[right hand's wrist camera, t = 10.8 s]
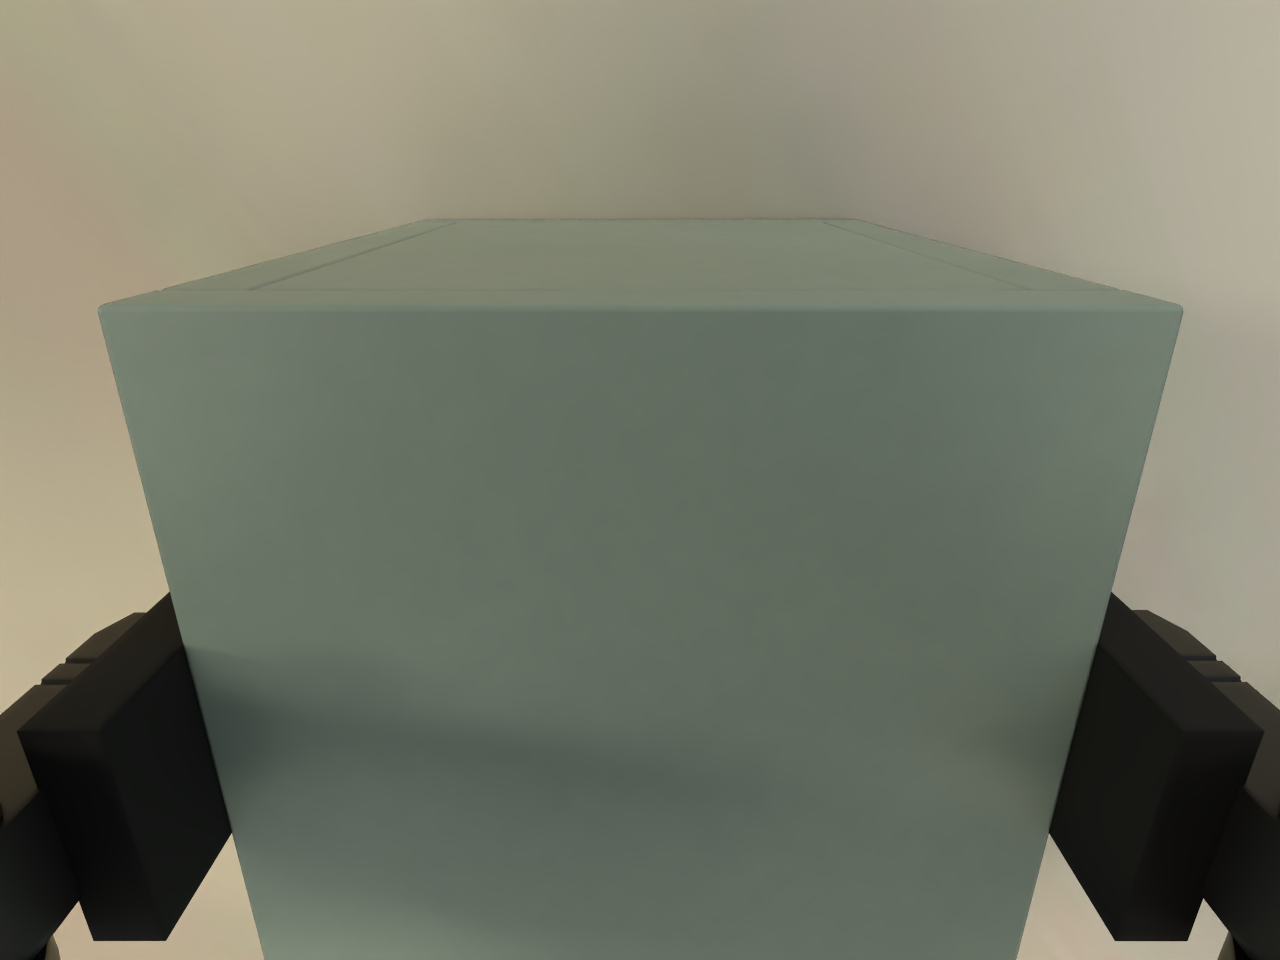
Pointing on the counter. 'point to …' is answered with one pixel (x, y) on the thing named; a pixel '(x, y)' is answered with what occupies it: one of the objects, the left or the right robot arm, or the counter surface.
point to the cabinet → (640, 579)
